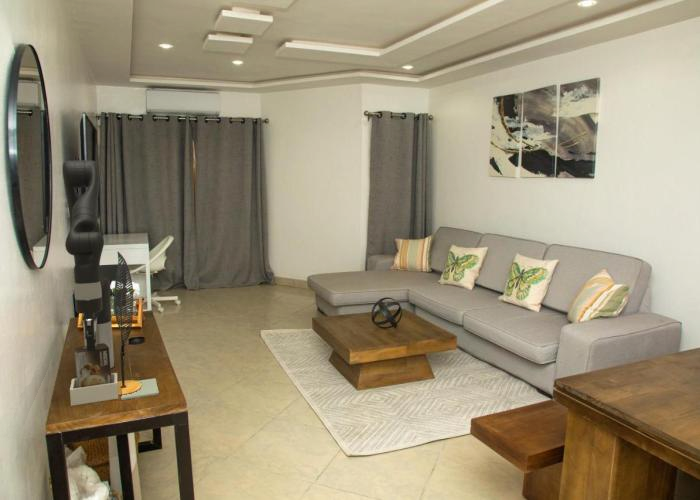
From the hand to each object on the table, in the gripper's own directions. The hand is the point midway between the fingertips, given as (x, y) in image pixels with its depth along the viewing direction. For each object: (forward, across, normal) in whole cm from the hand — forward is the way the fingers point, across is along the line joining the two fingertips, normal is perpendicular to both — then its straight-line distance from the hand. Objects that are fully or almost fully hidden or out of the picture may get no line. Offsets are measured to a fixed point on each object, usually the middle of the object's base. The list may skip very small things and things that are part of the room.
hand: (91, 347), depth 167 cm
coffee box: (+16, 0, 0) cm, 16 cm away
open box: (+16, 0, 0) cm, 16 cm away
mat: (+16, 0, +13) cm, 21 cm away
